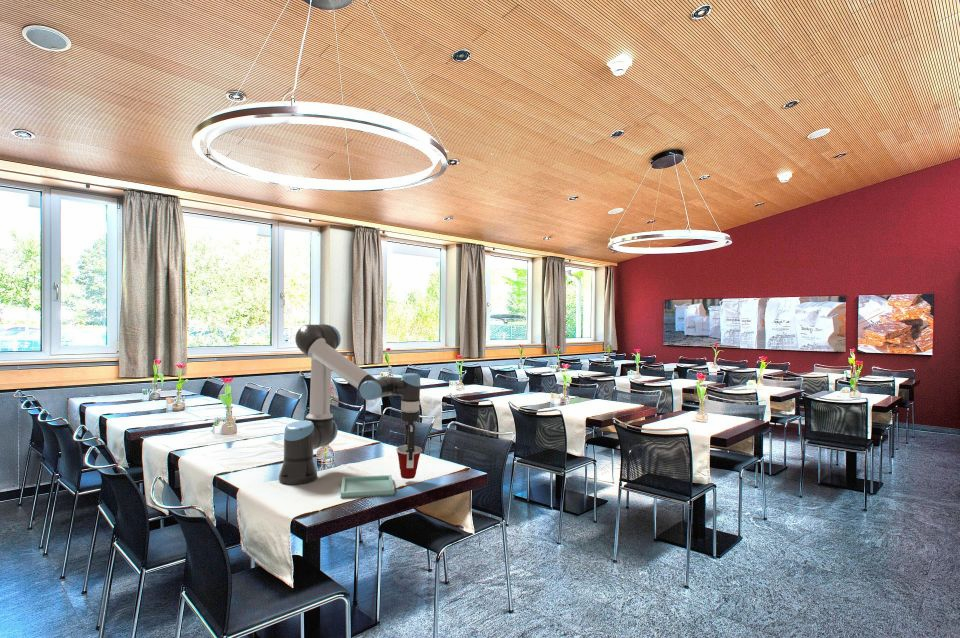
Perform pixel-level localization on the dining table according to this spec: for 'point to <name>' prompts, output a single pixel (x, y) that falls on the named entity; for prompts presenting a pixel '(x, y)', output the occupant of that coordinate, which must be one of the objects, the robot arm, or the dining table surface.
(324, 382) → the robot arm
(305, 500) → the dining table surface
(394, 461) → the dining table surface
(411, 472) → the plastic cup
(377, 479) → the tray
